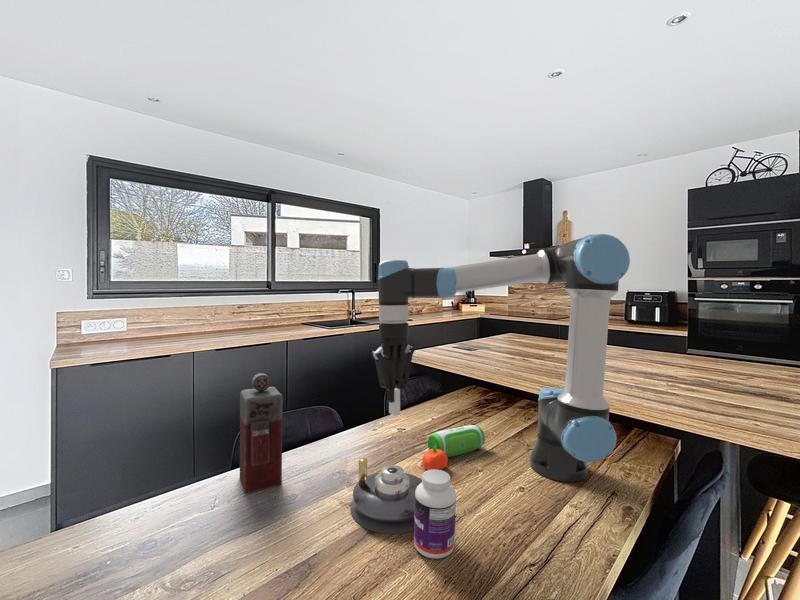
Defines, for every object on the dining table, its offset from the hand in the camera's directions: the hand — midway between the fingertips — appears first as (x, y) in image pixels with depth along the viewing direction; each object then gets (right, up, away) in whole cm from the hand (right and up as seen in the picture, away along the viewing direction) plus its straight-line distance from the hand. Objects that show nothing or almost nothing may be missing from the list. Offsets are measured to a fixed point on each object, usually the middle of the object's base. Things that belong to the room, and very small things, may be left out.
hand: (394, 413), depth 96 cm
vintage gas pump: (-34, -18, +1) cm, 39 cm away
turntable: (0, -17, -9) cm, 19 cm away
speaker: (+19, -19, +21) cm, 34 cm away
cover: (0, -15, -9) cm, 18 cm away
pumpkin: (+11, -19, +10) cm, 24 cm away
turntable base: (-1, -19, -9) cm, 21 cm away
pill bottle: (+8, -20, -22) cm, 31 cm away
